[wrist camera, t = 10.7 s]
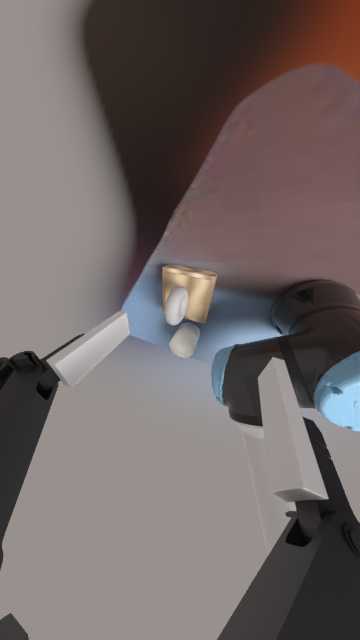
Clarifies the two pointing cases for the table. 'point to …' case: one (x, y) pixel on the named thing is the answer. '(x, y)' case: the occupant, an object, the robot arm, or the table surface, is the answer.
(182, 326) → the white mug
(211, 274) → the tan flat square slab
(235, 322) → the table surface
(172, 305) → the donut
